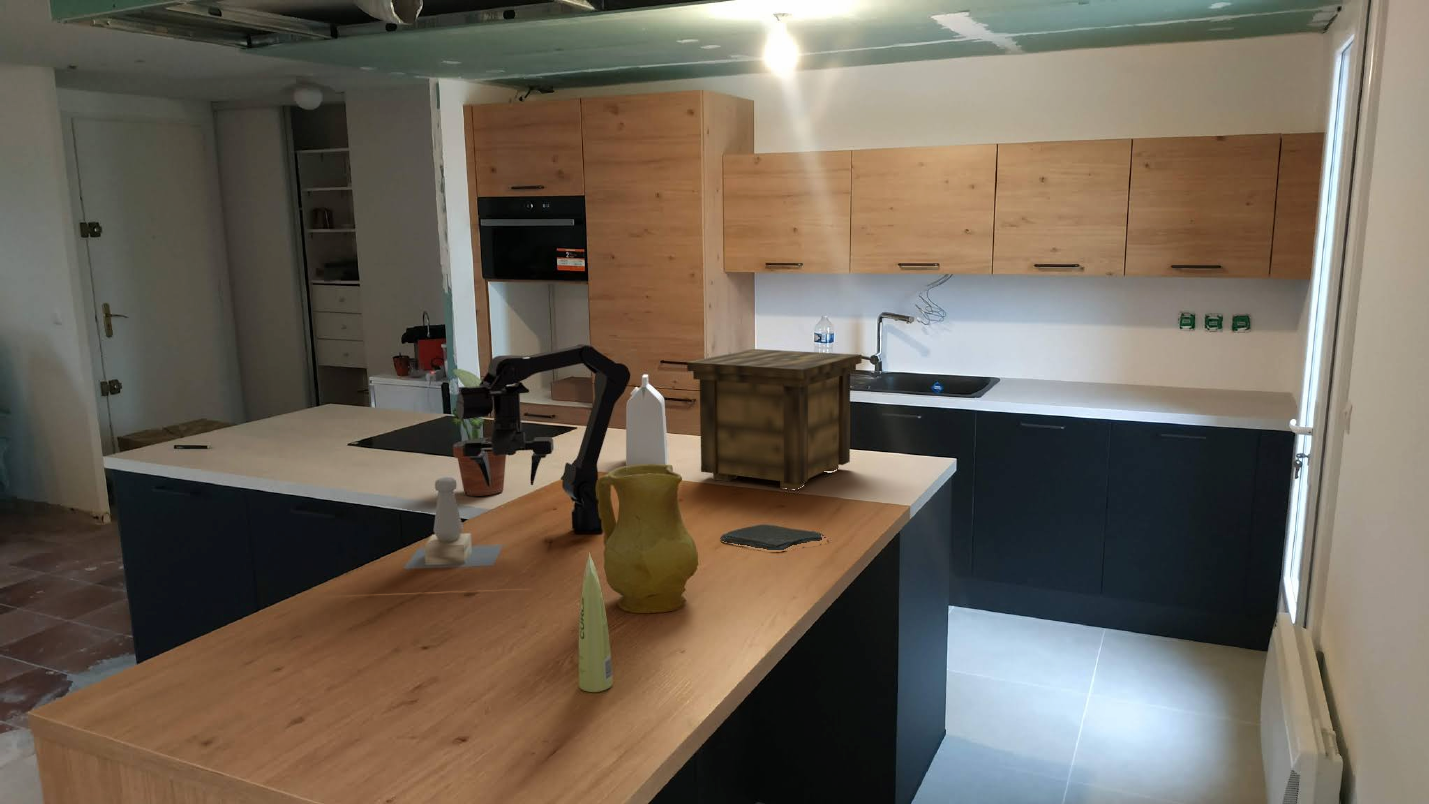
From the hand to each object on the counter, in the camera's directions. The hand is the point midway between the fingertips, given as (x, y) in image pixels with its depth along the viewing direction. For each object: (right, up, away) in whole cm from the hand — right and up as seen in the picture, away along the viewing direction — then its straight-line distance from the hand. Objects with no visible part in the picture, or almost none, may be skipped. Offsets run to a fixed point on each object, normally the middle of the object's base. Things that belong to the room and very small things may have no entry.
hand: (510, 485), depth 217 cm
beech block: (-11, -14, -9) cm, 20 cm away
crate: (+62, -2, +61) cm, 87 cm away
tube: (+27, -24, -69) cm, 77 cm away
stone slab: (+57, -13, +1) cm, 59 cm away
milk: (+24, 0, +79) cm, 82 cm away
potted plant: (-16, -6, +46) cm, 49 cm away
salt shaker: (-11, -11, -9) cm, 18 cm away
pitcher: (+32, -18, -34) cm, 50 cm away
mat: (-10, -15, -7) cm, 19 cm away
